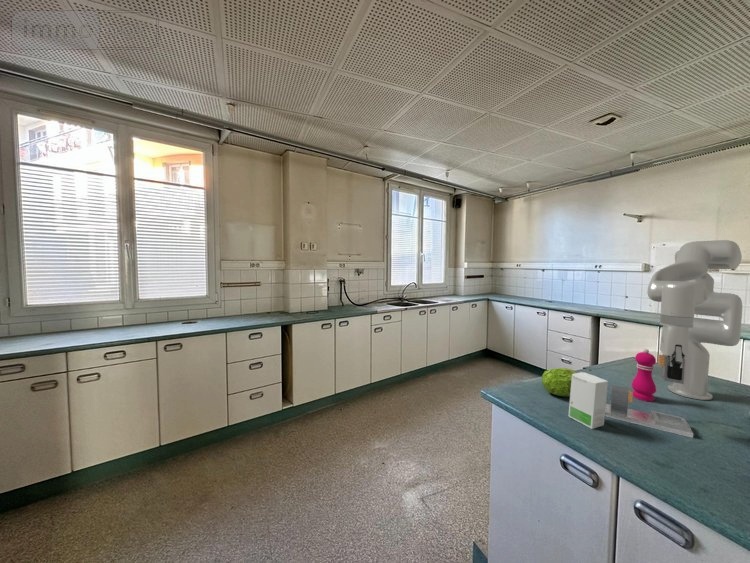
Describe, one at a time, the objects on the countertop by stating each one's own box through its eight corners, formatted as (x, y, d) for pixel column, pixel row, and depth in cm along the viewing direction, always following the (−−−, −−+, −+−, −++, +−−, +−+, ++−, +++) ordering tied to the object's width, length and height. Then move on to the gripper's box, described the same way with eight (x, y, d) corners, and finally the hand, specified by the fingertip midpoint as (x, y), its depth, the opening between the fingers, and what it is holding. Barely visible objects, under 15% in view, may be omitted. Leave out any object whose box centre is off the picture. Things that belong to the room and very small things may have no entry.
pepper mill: (660, 403, 112) (663, 352, 111) (638, 401, 114) (641, 351, 112) (647, 394, 119) (650, 346, 118) (626, 393, 121) (629, 345, 119)
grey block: (680, 379, 95) (681, 355, 95) (683, 384, 92) (685, 359, 91) (656, 375, 99) (658, 352, 98) (658, 379, 95) (660, 355, 95)
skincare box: (567, 417, 102) (569, 373, 101) (580, 413, 104) (582, 371, 103) (593, 429, 94) (595, 382, 93) (606, 425, 96) (608, 379, 95)
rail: (601, 406, 109) (603, 382, 109) (686, 426, 96) (688, 398, 96) (602, 415, 103) (603, 389, 102) (692, 437, 90) (695, 408, 89)
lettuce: (602, 379, 122) (575, 355, 131) (577, 390, 108) (549, 362, 117) (581, 395, 128) (557, 372, 137) (555, 408, 115) (530, 380, 123)
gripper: (655, 316, 103) (652, 366, 104) (665, 323, 89) (661, 382, 90) (686, 318, 98) (682, 371, 99) (701, 327, 85) (696, 388, 86)
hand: (672, 376), depth 95 cm, fingers closed on grey block, 4 cm apart
